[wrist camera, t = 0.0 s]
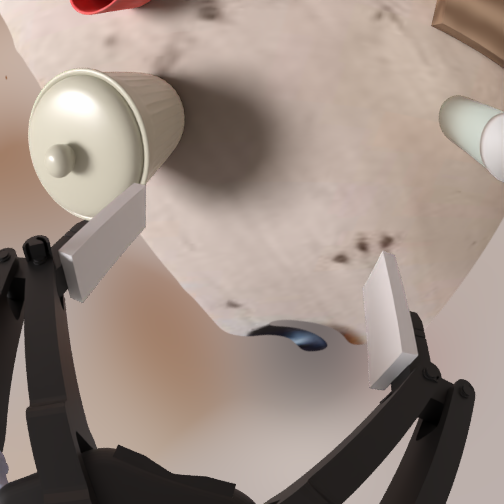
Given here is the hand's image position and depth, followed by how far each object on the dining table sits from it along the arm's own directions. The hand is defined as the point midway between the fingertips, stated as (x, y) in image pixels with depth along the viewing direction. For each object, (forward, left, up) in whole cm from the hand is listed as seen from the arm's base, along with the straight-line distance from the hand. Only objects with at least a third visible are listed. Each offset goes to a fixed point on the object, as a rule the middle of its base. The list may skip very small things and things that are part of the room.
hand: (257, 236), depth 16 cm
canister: (+3, -21, -28) cm, 36 cm away
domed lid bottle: (-9, +22, -28) cm, 37 cm away
